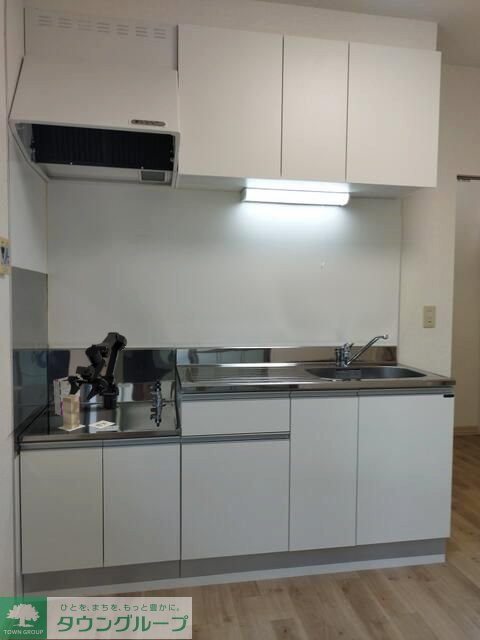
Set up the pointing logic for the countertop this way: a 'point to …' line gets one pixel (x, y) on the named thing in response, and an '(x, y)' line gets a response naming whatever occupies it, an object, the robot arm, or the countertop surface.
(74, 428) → the tile
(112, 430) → the countertop surface
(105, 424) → the code tile
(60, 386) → the candy bar box
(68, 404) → the beech block
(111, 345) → the robot arm
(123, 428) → the countertop surface
